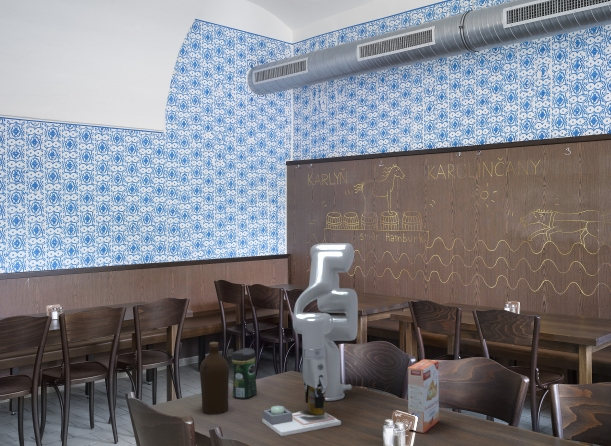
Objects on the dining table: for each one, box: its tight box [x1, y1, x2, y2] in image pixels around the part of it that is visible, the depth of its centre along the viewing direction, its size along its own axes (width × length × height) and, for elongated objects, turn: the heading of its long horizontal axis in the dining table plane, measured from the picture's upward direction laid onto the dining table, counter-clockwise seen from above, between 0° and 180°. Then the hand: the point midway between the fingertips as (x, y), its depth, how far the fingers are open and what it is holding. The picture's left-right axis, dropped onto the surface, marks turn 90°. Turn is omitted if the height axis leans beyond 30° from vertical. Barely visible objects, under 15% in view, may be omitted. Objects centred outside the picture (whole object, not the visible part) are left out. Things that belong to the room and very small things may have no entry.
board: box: [262, 407, 342, 437], centre depth 213 cm, size 22×16×4 cm
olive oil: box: [199, 341, 230, 415], centre depth 230 cm, size 11×11×25 cm
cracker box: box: [407, 358, 440, 434], centre depth 208 cm, size 14×6×21 cm, turn 148°
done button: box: [270, 405, 285, 415], centre depth 214 cm, size 4×4×3 cm
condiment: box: [297, 385, 331, 417], centre depth 215 cm, size 7×8×12 cm
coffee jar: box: [231, 347, 258, 399], centre depth 248 cm, size 10×8×19 cm
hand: (314, 404), depth 215 cm, fingers closed on condiment, 6 cm apart
